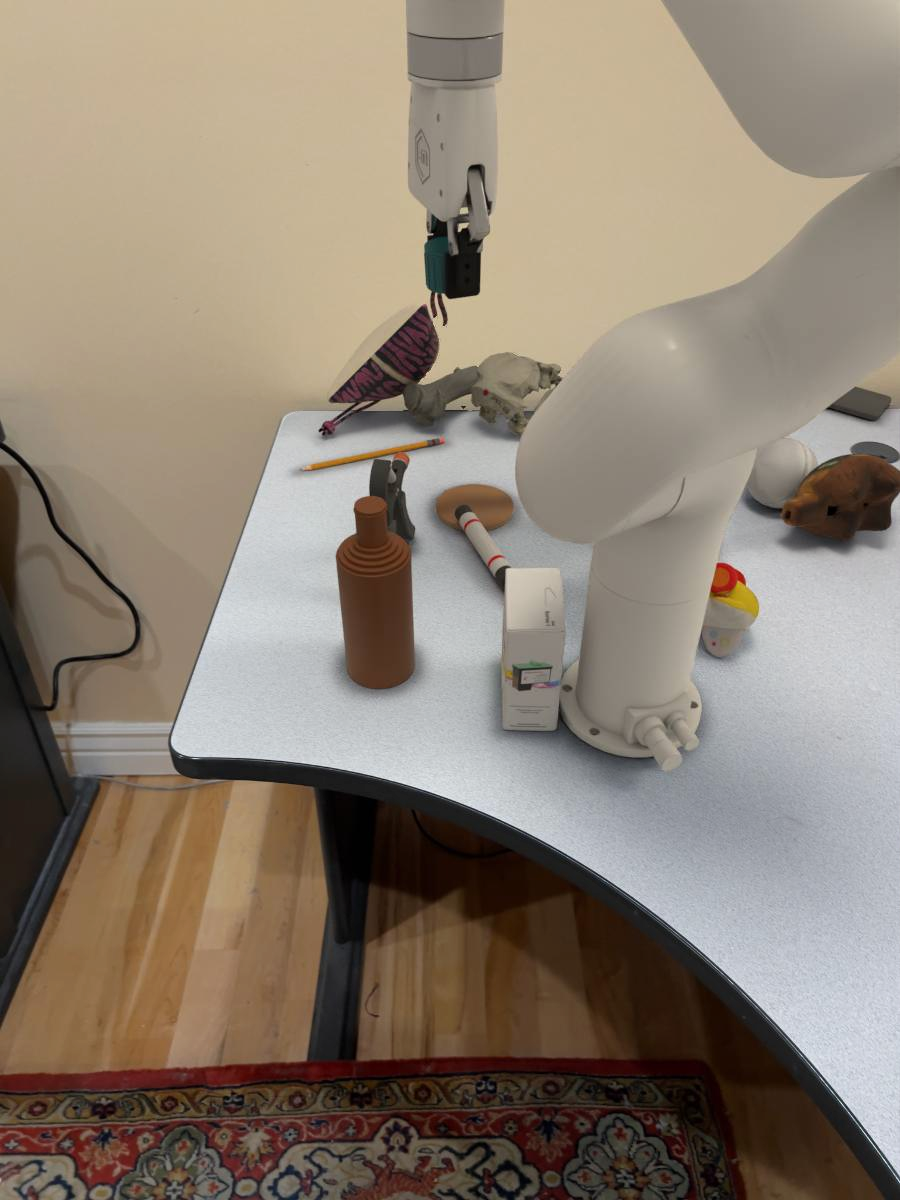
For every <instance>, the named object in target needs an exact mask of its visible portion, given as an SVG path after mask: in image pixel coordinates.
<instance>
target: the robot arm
mask: <svg viewBox="0 0 900 1200" xmlns="http://www.w3.org/2000/svg"><path fill="white" fill-rule="evenodd" d="M660 1H661V3H662V4H663V6H664V7H665V9H666V11H667V12H668V14H669V16H670V18H671V19H672V20H673V22H674V23H675V25H676V27H677V29H678V30H679V31H680V33H681V35H682V36H683V38H684V39H685V41H686V42H687V44H688V45H689V47H690V49H691V50H692V52H693V54H694V55H695V56H696V58H697V60H698V61H699V62H700V64H701V66H702V68H703V69H704V71H705V72H706V74H707V75H708V78H709V79H710V80H711V82H712V83H713V85H714V86H715V88H716V90H717V91H718V93H719V94H720V96H721V98H722V99H723V101H724V103H725V104H726V106H727V107H728V109H729V111H730V112H731V114H732V115H733V117H734V118H735V120H736V122H737V124H738V125H739V127H740V128H741V129H742V131H744V133H745V135H746V136H747V137H748V138H749V139H750V140H751V142H753V144H754V145H755V146H757V148H759V150H760V151H762V153H763V154H764V155H765V156H766V157H767V158H769V159H770V160H771V161H773V162H774V163H775V164H777V165H779V166H780V167H782V168H783V169H786V170H788V171H790V173H795V174H798V175H802V176H806V177H810V178H813V179H837V178H849V177H856V176H861V175H865V174H866V175H865V176H863V177H862V178H861V179H859V180H858V181H857V182H855V183H854V184H853V185H851V186H850V187H848V188H847V189H846V190H844V191H843V192H842V193H840V194H839V195H837V196H836V197H835V198H834V199H832V200H831V201H829V202H828V203H827V204H825V205H824V206H823V207H822V208H821V209H820V210H818V211H817V212H816V213H815V214H814V215H813V216H812V217H811V218H810V219H808V221H807V222H806V223H805V224H804V225H803V226H802V227H801V228H800V230H798V232H797V233H796V234H795V235H794V236H793V238H791V239H790V240H789V241H788V242H787V243H786V244H785V245H784V246H783V247H782V248H781V249H780V250H779V251H778V252H777V253H776V254H775V255H773V256H772V257H771V258H770V259H769V260H768V261H767V262H766V263H764V264H763V265H762V266H761V267H760V268H759V269H757V270H755V272H753V273H752V274H750V275H749V276H748V277H746V278H745V279H743V280H740V281H739V282H737V283H734V284H731V285H729V286H726V287H722V288H719V289H717V290H713V291H710V292H707V293H703V294H700V295H696V296H693V297H692V296H691V297H689V298H685V299H681V300H678V301H674V302H671V303H667V304H663V305H659V306H657V307H653V308H650V309H647V310H644V311H641V312H639V313H636V314H634V315H631V316H630V317H627V318H625V319H624V320H621V321H620V322H618V323H617V324H616V325H614V326H613V327H610V329H608V330H607V331H605V332H604V333H602V335H600V336H599V337H598V338H596V340H594V342H593V343H592V344H591V345H590V346H589V347H588V348H587V350H586V351H584V353H583V354H582V355H581V356H580V357H579V358H580V359H579V360H578V361H577V363H576V364H575V365H574V366H573V367H572V369H571V370H570V371H569V372H568V373H567V375H566V376H565V377H564V378H563V379H562V381H561V382H560V383H559V384H558V385H557V387H556V388H555V389H554V390H553V391H552V393H551V394H550V395H549V396H548V397H547V399H546V400H545V401H544V402H543V404H542V405H541V406H540V407H539V408H538V410H537V411H536V412H535V414H534V415H533V416H532V415H531V416H532V418H531V419H530V421H529V422H528V424H527V426H526V428H525V430H524V432H523V434H522V435H521V436H520V439H519V442H518V446H517V450H516V457H515V463H514V477H515V485H516V491H517V495H518V498H519V501H520V504H521V505H522V507H523V509H524V511H525V513H526V514H527V516H528V517H529V519H530V520H531V521H532V522H533V524H534V525H535V526H536V527H537V528H538V529H539V530H541V531H542V532H543V533H545V534H547V536H549V537H552V538H554V539H556V540H559V541H561V542H564V543H567V544H574V545H576V544H577V545H581V544H582V545H583V544H591V543H593V544H592V552H591V557H590V559H591V560H590V566H589V574H588V582H587V591H586V599H585V606H584V607H585V608H584V614H583V615H584V616H583V625H582V633H581V642H580V651H579V658H578V659H577V660H575V662H573V663H572V664H570V665H569V667H568V668H567V669H565V671H564V672H563V673H562V676H561V686H560V696H559V709H558V713H559V714H560V716H561V718H562V720H563V722H564V724H565V725H566V726H567V727H568V729H569V730H570V731H571V732H572V733H573V734H574V735H575V736H576V737H578V738H579V739H580V740H581V741H583V742H585V743H587V745H589V746H591V747H593V748H595V749H598V750H600V751H601V752H605V753H608V754H611V755H615V756H618V757H627V758H651V757H653V758H654V759H655V761H656V763H657V764H658V766H659V767H660V768H661V770H662V771H664V772H672V771H674V770H676V769H677V768H678V767H680V766H681V764H682V762H683V760H684V758H683V755H682V753H680V751H679V750H678V749H680V748H681V747H683V749H684V750H685V751H687V752H689V751H693V750H694V749H696V748H697V747H698V746H699V744H700V739H699V738H698V736H697V735H696V734H695V733H696V732H697V729H698V727H699V724H700V720H701V715H702V711H703V708H702V707H703V706H702V699H701V696H700V693H699V690H698V688H697V687H696V684H695V683H694V682H693V681H692V679H691V677H692V673H693V669H694V664H695V661H696V660H695V659H696V656H697V651H698V648H699V642H700V638H701V630H702V625H703V621H704V616H705V612H706V607H707V603H708V599H709V594H710V590H711V585H712V582H713V578H714V574H715V569H716V565H717V563H718V560H719V557H720V552H721V549H722V544H723V541H724V538H725V535H726V531H727V529H728V526H729V524H730V521H731V518H732V516H733V513H734V511H735V509H736V507H737V505H738V503H739V500H740V498H741V497H742V494H743V492H744V490H745V487H747V486H746V483H747V481H748V479H749V476H750V474H751V471H752V468H753V465H754V462H755V458H756V453H757V448H760V447H763V446H765V445H768V444H770V443H772V442H775V441H777V440H779V439H782V438H787V437H788V436H790V435H792V434H793V433H795V432H797V431H798V430H800V429H802V428H803V427H804V426H806V425H807V424H808V423H810V422H811V421H812V420H814V419H815V418H816V417H817V416H818V415H820V414H821V413H822V412H824V411H825V410H826V409H828V408H829V407H828V406H830V405H831V404H832V403H834V402H835V401H836V400H837V399H839V398H840V397H842V396H843V395H844V394H846V393H847V392H848V391H850V390H851V389H853V388H854V387H858V385H860V384H861V383H862V382H864V381H865V380H867V379H868V378H870V377H871V376H872V375H874V374H875V373H876V372H878V371H879V370H880V369H882V368H883V367H885V366H886V365H888V364H889V363H890V362H892V361H893V360H894V359H895V358H897V357H898V356H900V0H660ZM505 2H506V1H505V0H405V12H406V13H405V15H406V16H405V22H406V24H405V25H406V27H405V28H406V59H407V60H406V61H407V62H406V63H407V65H406V66H407V80H408V82H410V83H411V84H410V91H409V92H410V93H409V94H410V95H409V104H408V105H409V108H408V136H407V137H408V138H407V140H408V141H407V188H408V190H409V193H410V194H411V195H412V197H413V198H415V200H417V202H419V204H420V205H422V206H423V207H424V208H425V209H426V220H425V221H426V222H425V227H426V233H427V234H428V235H427V236H426V242H427V241H429V240H431V239H434V238H438V237H448V246H449V252H446V253H445V294H444V296H445V298H447V299H448V300H457V299H462V298H469V297H475V296H476V297H477V296H479V294H480V293H481V271H482V270H481V267H482V252H483V250H484V239H485V238H487V236H488V235H489V234H490V233H491V224H490V218H489V217H490V216H491V215H492V214H493V213H494V211H495V209H496V203H497V194H498V193H497V192H498V173H499V172H498V171H499V170H498V168H499V167H498V166H499V165H498V164H499V163H498V162H499V158H498V157H499V151H498V149H499V148H498V147H499V146H498V111H497V95H496V84H498V83H500V82H501V81H502V79H503V55H504V54H503V53H504V52H503V51H504V27H505V26H504V25H505ZM463 208H467V212H465V213H461V209H463ZM460 224H467V225H466V227H462V228H461V230H460V231H459V227H460Z"/></svg>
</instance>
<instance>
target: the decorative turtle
mask: <svg viewBox="0 0 900 1200" xmlns="http://www.w3.org/2000/svg"><path fill="white" fill-rule="evenodd" d="M899 494H900V469H899V468H897V467H896V466H894V464H891V463H889V462H888V461H887V460H885V458H882V457H880V456H878V455H875V454H870V453H848V454H841V455H837V456H835V457H833V458H830V459H827V460H826V461H824V462H822V463H821V464H818V466H817V467H816V468H815V469H813V470H812V471H811V472H810V473H809V474H808V475H807V476H806V477H805V478H804V480H803V481H802V483H801V484H800V486H799V488H798V490H797V492H796V495H795V498H793V499H791V500H789V501H787V502H786V503H785V504H784V506H783V508H781V518H782V520H783V523H785V525H788V526H790V527H801V528H802V529H803V530H804V531H806V532H808V533H810V534H813V535H816V536H822V537H827V538H832V539H839V540H843V541H850V540H852V539H853V538H854V537H855V535H856V533H857V532H862V531H863V532H883V531H886V530H888V529H889V528H890V527H891V526H892V523H893V521H892V505H893V503H894V502H895V500H896V498H898V496H899Z"/></svg>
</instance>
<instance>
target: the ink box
mask: <svg viewBox="0 0 900 1200" xmlns="http://www.w3.org/2000/svg"><path fill="white" fill-rule="evenodd" d="M564 598H565V597H564V591H563V579H562V570H561V568H560V567H511V568H507V569H506V575H505V589H504V595H503V614H502V632H501V634H502V635H501V659H500V660H501V662H500V664H501V665H500V667H501V669H500V670H501V671H500V672H501V716H502V717H501V718H502V719H501V720H502V729H503V730H505V731H531V732H532V731H535V732H539V731H540V732H554V731H555V730H557V727H558V719H559V696H560V686H561V678H562V676H563V666H564V665H563V664H564V655H565V645H566V635H567V625H566V611H565V601H564V600H565V599H564Z"/></svg>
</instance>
